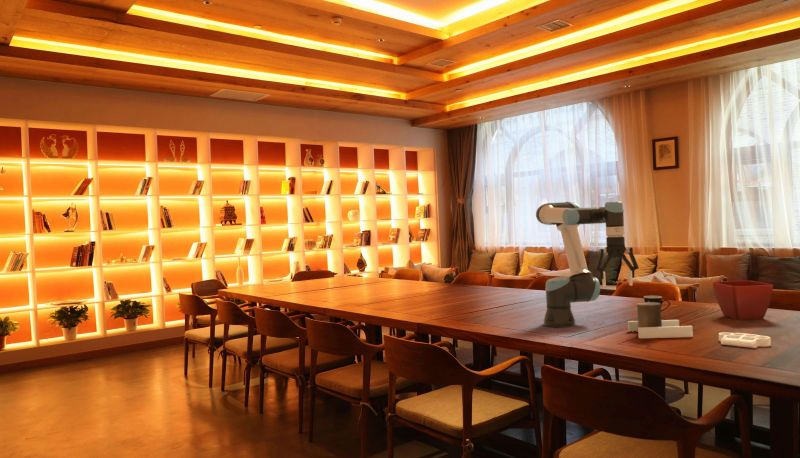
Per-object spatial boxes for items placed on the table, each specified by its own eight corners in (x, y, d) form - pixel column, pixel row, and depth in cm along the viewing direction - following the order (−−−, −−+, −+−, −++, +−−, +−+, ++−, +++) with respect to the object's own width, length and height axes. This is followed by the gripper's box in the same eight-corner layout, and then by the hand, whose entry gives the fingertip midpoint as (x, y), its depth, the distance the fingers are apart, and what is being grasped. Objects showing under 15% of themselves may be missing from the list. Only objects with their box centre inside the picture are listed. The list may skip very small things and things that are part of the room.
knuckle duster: (712, 345, 221) (723, 338, 231) (764, 351, 208) (774, 343, 218) (711, 336, 221) (723, 330, 231) (764, 342, 208) (774, 335, 218)
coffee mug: (640, 316, 287) (640, 297, 287) (652, 314, 290) (651, 295, 290) (659, 319, 276) (659, 299, 276) (671, 317, 280) (671, 297, 280)
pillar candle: (664, 336, 238) (663, 301, 238) (640, 336, 240) (639, 302, 240) (659, 332, 248) (657, 298, 248) (635, 332, 250) (634, 299, 250)
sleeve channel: (639, 338, 237) (638, 327, 237) (628, 331, 253) (627, 321, 252) (692, 336, 235) (692, 326, 235) (678, 329, 250) (677, 319, 250)
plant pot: (776, 319, 261) (774, 284, 261) (735, 321, 261) (733, 286, 261) (751, 313, 280) (749, 280, 280) (713, 315, 280) (711, 281, 280)
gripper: (590, 237, 242) (592, 287, 243) (645, 235, 240) (647, 285, 240) (586, 237, 250) (588, 285, 250) (639, 234, 248) (641, 283, 248)
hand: (617, 285), depth 245 cm, fingers open, 11 cm apart
